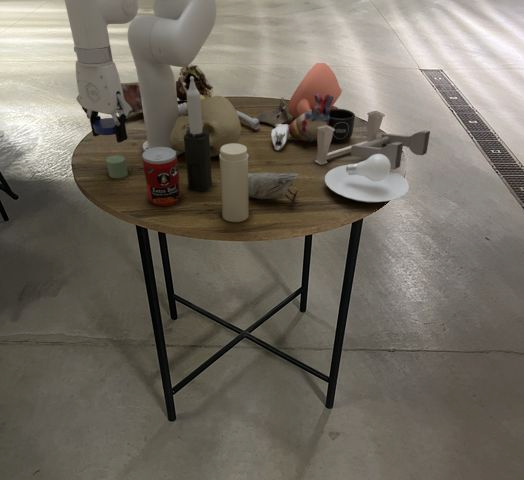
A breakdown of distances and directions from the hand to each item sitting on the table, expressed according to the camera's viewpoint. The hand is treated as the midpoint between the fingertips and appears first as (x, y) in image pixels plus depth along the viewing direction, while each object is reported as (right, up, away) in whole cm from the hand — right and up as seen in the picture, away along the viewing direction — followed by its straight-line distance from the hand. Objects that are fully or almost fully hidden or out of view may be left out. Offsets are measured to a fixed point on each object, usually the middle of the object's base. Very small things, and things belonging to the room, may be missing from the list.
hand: (110, 137), depth 118 cm
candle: (+22, -11, +3) cm, 25 cm away
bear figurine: (+16, +36, +42) cm, 58 cm away
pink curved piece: (+49, +29, +30) cm, 65 cm away
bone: (+32, +22, +34) cm, 52 cm away
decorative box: (-2, +29, +39) cm, 49 cm away
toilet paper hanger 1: (+60, +8, +16) cm, 63 cm away
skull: (+12, +7, +12) cm, 18 cm away
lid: (0, +2, -2) cm, 3 cm away
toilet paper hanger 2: (+73, +6, +12) cm, 74 cm away
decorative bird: (+38, -16, -1) cm, 41 cm away
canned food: (+14, -16, -2) cm, 21 cm away
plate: (+64, -12, +3) cm, 65 cm away
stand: (0, -7, +7) cm, 10 cm away
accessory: (+51, +11, +24) cm, 57 cm away
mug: (+60, +12, +27) cm, 67 cm away
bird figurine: (+42, +7, +17) cm, 46 cm away
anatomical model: (+50, +10, +25) cm, 56 cm away
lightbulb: (+59, -7, +3) cm, 59 cm away
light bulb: (+10, +24, +36) cm, 45 cm away
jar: (+31, -21, -7) cm, 39 cm away
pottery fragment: (+38, +20, +38) cm, 57 cm away
